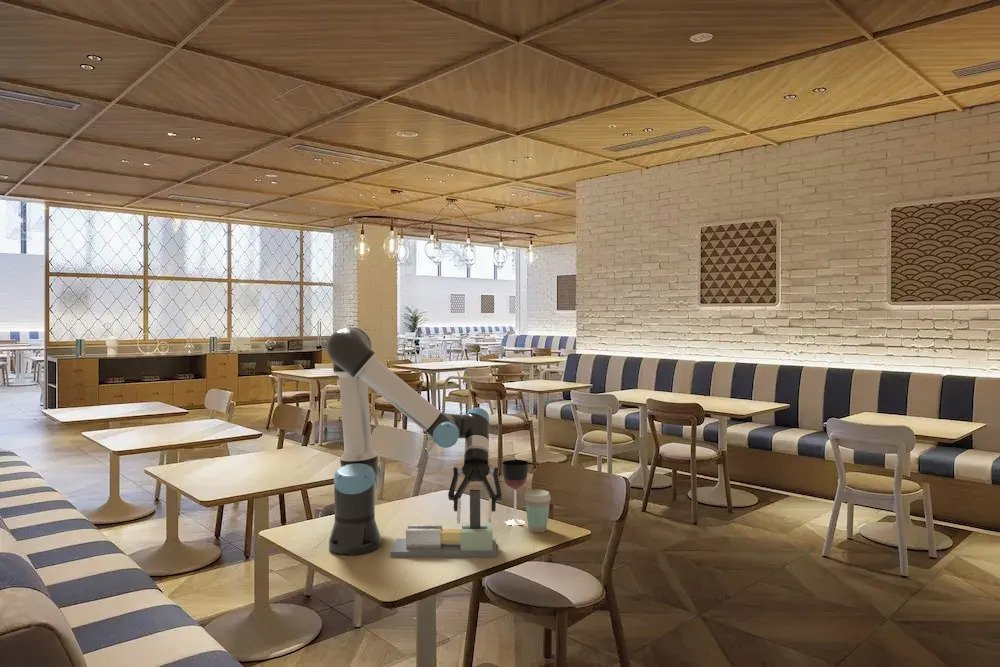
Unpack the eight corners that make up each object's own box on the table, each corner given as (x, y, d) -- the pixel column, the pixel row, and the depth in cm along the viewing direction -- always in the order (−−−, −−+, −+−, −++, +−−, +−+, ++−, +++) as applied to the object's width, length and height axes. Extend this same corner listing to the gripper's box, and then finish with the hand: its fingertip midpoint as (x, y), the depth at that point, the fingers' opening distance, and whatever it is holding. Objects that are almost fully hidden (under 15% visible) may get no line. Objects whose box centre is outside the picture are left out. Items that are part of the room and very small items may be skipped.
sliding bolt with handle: (437, 543, 193) (436, 491, 193) (438, 539, 197) (437, 488, 196) (485, 543, 193) (485, 491, 193) (485, 539, 196) (485, 488, 196)
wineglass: (498, 520, 222) (498, 461, 221) (522, 517, 225) (522, 458, 224) (507, 528, 215) (507, 466, 214) (532, 524, 218) (532, 464, 217)
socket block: (460, 550, 191) (460, 532, 190) (462, 539, 199) (462, 522, 199) (492, 550, 191) (492, 532, 190) (492, 539, 199) (492, 522, 199)
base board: (390, 557, 190) (390, 551, 190) (396, 543, 201) (396, 538, 201) (495, 557, 189) (495, 552, 189) (496, 543, 200) (496, 538, 200)
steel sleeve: (405, 548, 193) (405, 530, 192) (408, 541, 198) (408, 524, 198) (440, 548, 192) (440, 530, 192) (442, 541, 198) (442, 524, 197)
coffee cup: (551, 525, 217) (551, 489, 216) (550, 534, 208) (550, 496, 208) (524, 525, 218) (524, 488, 217) (523, 533, 209) (523, 496, 209)
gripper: (510, 460, 209) (511, 527, 194) (443, 460, 210) (438, 527, 194) (510, 446, 204) (511, 514, 188) (441, 446, 204) (436, 514, 189)
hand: (474, 521), depth 191 cm, fingers open, 8 cm apart
